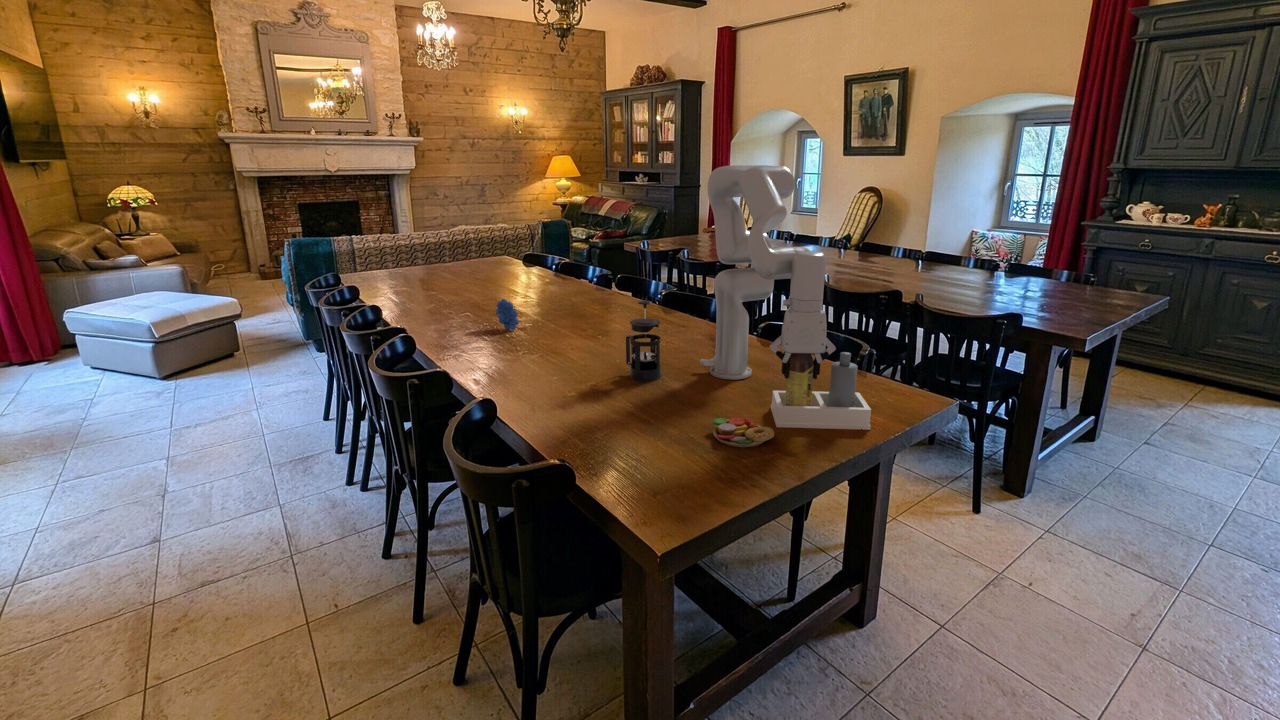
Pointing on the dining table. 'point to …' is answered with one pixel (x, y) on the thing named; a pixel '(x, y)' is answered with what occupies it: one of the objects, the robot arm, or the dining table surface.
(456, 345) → the dining table surface
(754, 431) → the toy food set
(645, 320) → the french press
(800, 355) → the sauce bottle
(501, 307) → the grapes
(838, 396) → the condiment caddy
